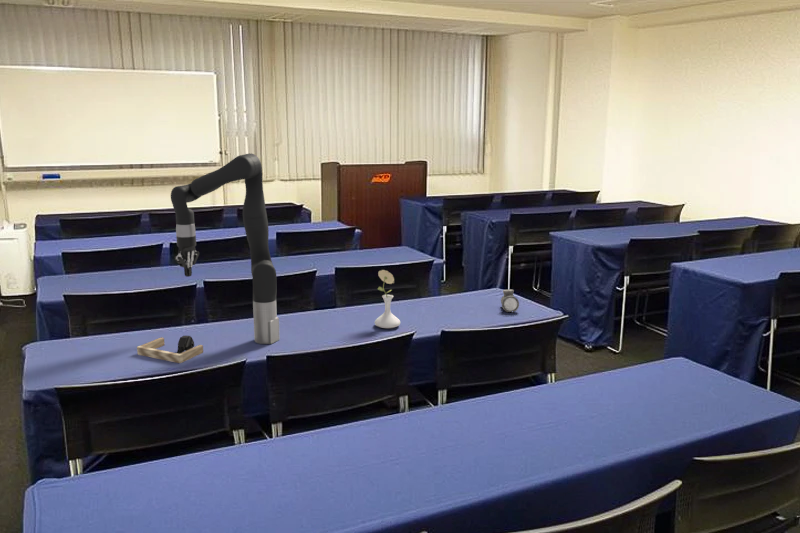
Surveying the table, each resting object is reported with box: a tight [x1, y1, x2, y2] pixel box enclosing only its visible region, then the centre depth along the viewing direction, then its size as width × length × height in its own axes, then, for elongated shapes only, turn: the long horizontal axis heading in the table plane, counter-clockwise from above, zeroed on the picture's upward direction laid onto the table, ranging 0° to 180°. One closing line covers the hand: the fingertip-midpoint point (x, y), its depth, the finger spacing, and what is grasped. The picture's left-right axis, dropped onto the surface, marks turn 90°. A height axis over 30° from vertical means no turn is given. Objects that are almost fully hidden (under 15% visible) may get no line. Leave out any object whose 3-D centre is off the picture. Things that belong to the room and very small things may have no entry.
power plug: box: [176, 335, 195, 354], centre depth 246 cm, size 6×8×12 cm
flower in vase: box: [374, 269, 401, 329], centre depth 280 cm, size 13×11×25 cm
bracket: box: [136, 337, 204, 364], centre depth 246 cm, size 21×12×3 cm, turn 66°
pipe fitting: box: [500, 288, 520, 313], centre depth 309 cm, size 12×8×10 cm
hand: (188, 276), depth 264 cm, fingers closed
